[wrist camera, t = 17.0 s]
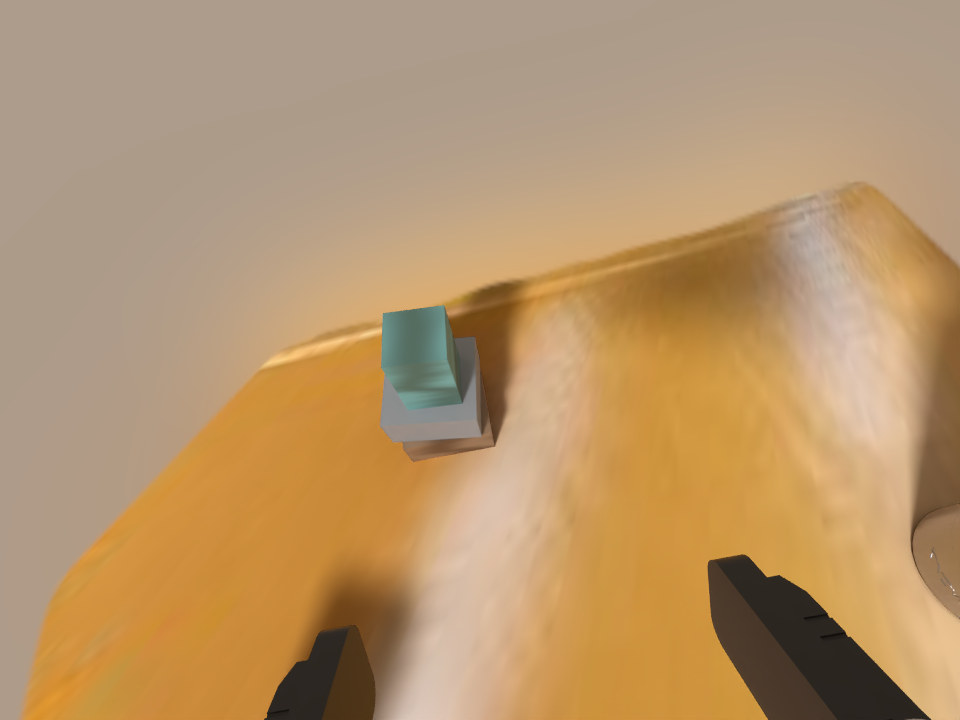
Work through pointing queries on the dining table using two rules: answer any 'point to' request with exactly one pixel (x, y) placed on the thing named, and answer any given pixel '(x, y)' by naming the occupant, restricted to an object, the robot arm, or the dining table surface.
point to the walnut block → (454, 446)
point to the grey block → (438, 419)
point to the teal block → (421, 357)
